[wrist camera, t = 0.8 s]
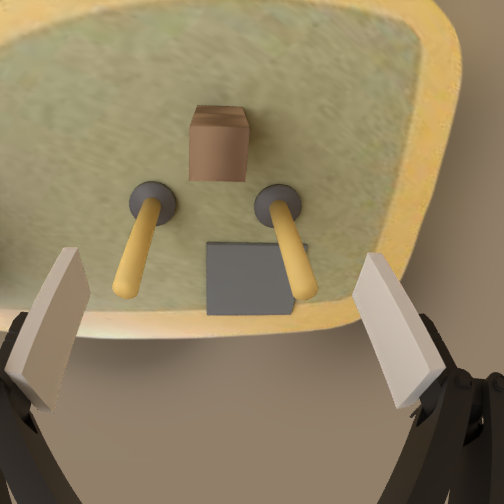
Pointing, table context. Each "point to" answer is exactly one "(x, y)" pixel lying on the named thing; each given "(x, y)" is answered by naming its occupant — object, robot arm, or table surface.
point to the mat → (247, 279)
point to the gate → (267, 211)
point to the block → (218, 144)
